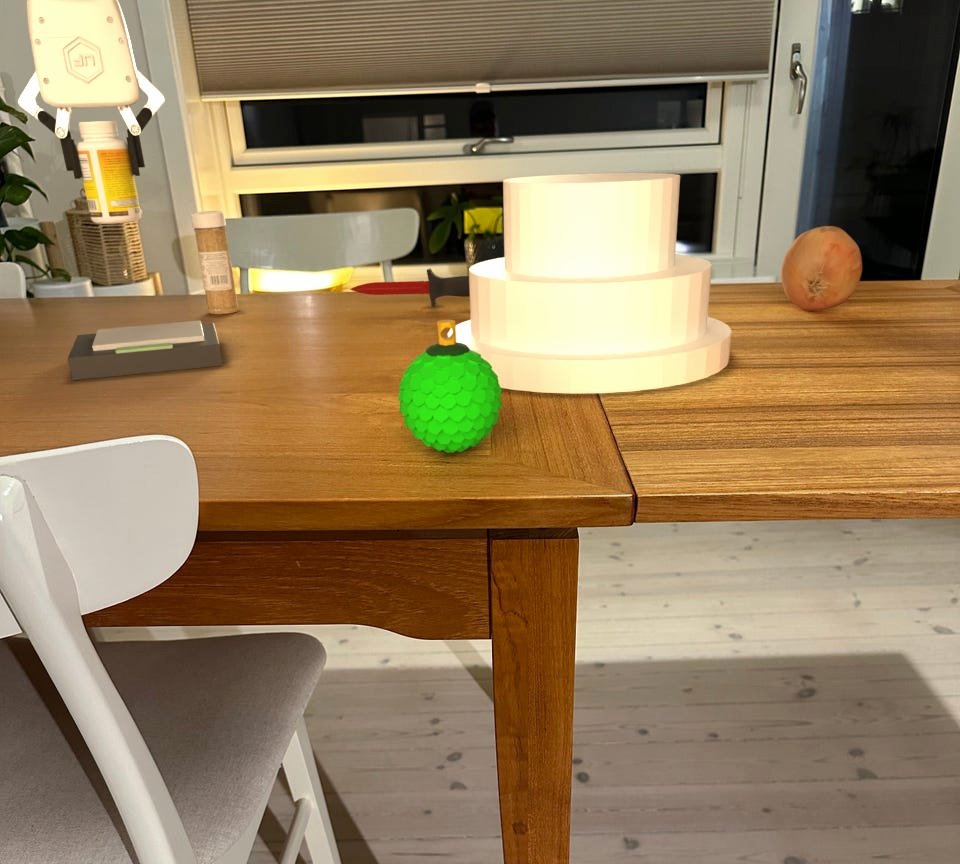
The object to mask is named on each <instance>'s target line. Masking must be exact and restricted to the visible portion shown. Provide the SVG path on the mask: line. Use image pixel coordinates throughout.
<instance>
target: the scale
mask: <svg viewBox="0 0 960 864" xmlns="http://www.w3.org/2000/svg"><path fill="white" fill-rule="evenodd" d="M219 342H220V341H219V337H218V335H217V330H216V326H215V323H213V322H210V323H202V321H201V320H190V321H181V322H180V321H178V322H168V323H154V324H143V325H134V326H133V325H132V326H121V327H111V328H110V327H109V328H99V329H97V331H96V333H86V334H77V335H76V338H75V341H74V342H73V345H72V347H71V349H70V352H69V355H68V356H67V361H68V367H69V370H70V374H71V378H72V381H81V380H90V379H91V380H93V379H101V378H112V377H113V378H114V377H123V376H132V375H143V374H153V373H163V372H173V371H174V372H175V371H184V370H194V369H202V368H203V369H204V368H213V367H223V365H224V364H223V359H222V354H221V353H222V352H221V348H220V347H221V346H220V343H219Z"/></svg>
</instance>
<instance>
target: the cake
mask: <svg viewBox="0 0 960 864" xmlns="http://www.w3.org/2000/svg"><path fill="white" fill-rule="evenodd" d="M680 184H681V175H680V174H676V173H663V172H661V173H659V172H603V173H601V172H600V173H599V172H598V173H570V174H569V173H567V174H566V173H565V174H550V175H548V174H547V175H534V176H521V177H513V178H506V179H503V181H502V190H503V191H502V193H503V194H502V195H503V196H502V197H503V248H504V249H503V251H504V252H503V253H504V254H503V257H497V258H492V259H488V260H484V261H480V262H477V263H475V264H473V265H471V266H470V267H469V268H468V276H469V286H470V296H469V310H470V311H469V312H470V319H468V320H466V321H462V322H459V323H457V324H456V342H458V343H463V344H465V345H467V346H468V347H469V349H470V350H472V351H475V352H477V353H479V354H480V355H481V358H483V359H484V360H486V361H487V362H488V363H490V365H491V366H492V370H493V371H494V372H495V373H496V374H497V376H498V380H499V382H498V383H499V385H500V387H501V389H505V390H512V391H521V392H534V393H544V394H545V393H548V394H571V395H573V394H574V395H575V394H609V393H610V394H613V393H626V392H639V391H646V390H647V391H648V390H656V389H663V388H668V387H674V386H680V385H685V384H689V383H692V382H696V381H700V380H704V379H706V378H709V377H710V376H714V375H717V374H718V373H720V372H721V371H723V370H724V368H726V367H727V366H728V364H729V361H730V354H731V352H730V351H731V342H732V341H731V340H732V329H731V328H730V326H729V325H728V324H726V323H725V322H723V321H721V320H720V319H717V318H714V317H710V316H709V306H710V305H709V304H710V293H711V282H712V281H711V280H712V269H713V268H712V267H713V264H712V263H711V262H710V261H709V260H706V259H705V258H701V257H696V256H693V255H686V254H678V253H676V249H677V233H678V219H679V217H678V216H679V201H680ZM452 333H453V330H452V328H449V331H448V332H447V337H450V336H451V335H452Z"/></svg>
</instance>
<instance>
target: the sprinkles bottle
mask: <svg viewBox="0 0 960 864" xmlns="http://www.w3.org/2000/svg"><path fill="white" fill-rule="evenodd" d="M190 219H191V224H192V228H193V231H194V234H195V240H196V246H197V250H198V251H197V255H198V260H199V265H200V271H201V278H202V283H203V289H204V293H205V298H206V304H207V313H208V314H211V315H229V314H234V313H237V312H239V310H240V307H239V305H238V299H237V294H236V293H237V291H236V282H235V277H234V269H233V265H232V262H231V254H230V249H229V242H228V237H227V231H226V229H227V227H226V226H227V221H226V216H225V212H224V211H220V210H209V211H208V210H206V211H205V210H204V211H198V212H193V213H191V214H190Z"/></svg>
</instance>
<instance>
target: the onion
mask: <svg viewBox="0 0 960 864" xmlns="http://www.w3.org/2000/svg"><path fill="white" fill-rule="evenodd" d="M862 258H863V257H862V254H861V250H860V247H859V245H858V243H857V242H856V241H855V240H854V239H853V238H852V237H851V236H850V235H849V234H848V233H847V232H846V231H845V230H843V229H842V228H841V227H838V226H833V225H824V226H819V227H815V228H812V229H809V230H807V231H804V232H803V233H801V234H800V235H798V236H797V237H796V239H794V240H793V242H792V243H791V245H790V247H789V248H788V250H787V251H786V253H785V255H784V257H783V261H782V264H781V270H780V281H781V285H782V290H783V291H784V294H785V296H786V297H787V298H788V300H789V301H790V302H792V304H794V306H796V307H799V308H800V309H801V310H803V311H809V312H810V311H811V312H813V311H821V310H827V309H831V308H836V307H838V306H840V305H843V304H844V303H845V302H846V301H847V300H849V298H850V297H851V296H852V295H853V294H855V291H856V290H857V288H858V286H859V285H860V280H861V277H862V272H863V259H862Z"/></svg>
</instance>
